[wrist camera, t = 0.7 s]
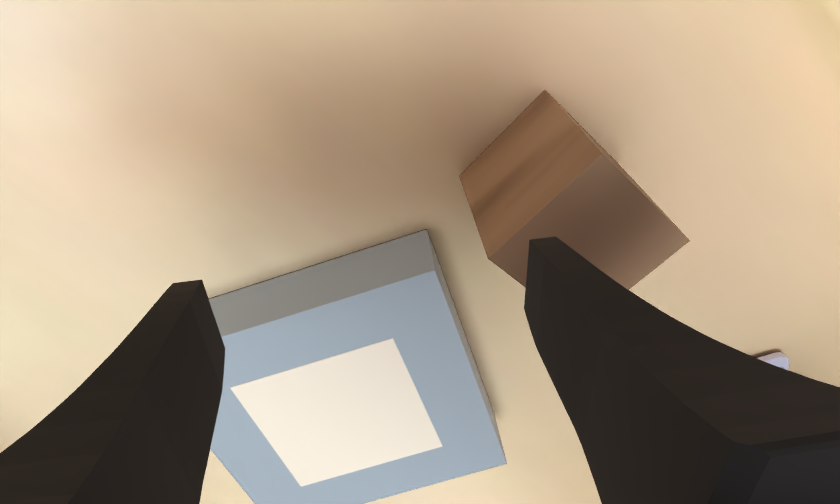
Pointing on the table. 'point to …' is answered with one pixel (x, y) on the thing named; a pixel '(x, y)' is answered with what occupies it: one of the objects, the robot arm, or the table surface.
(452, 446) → the slate plinth
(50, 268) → the table surface
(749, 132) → the table surface
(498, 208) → the walnut block
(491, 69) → the table surface
